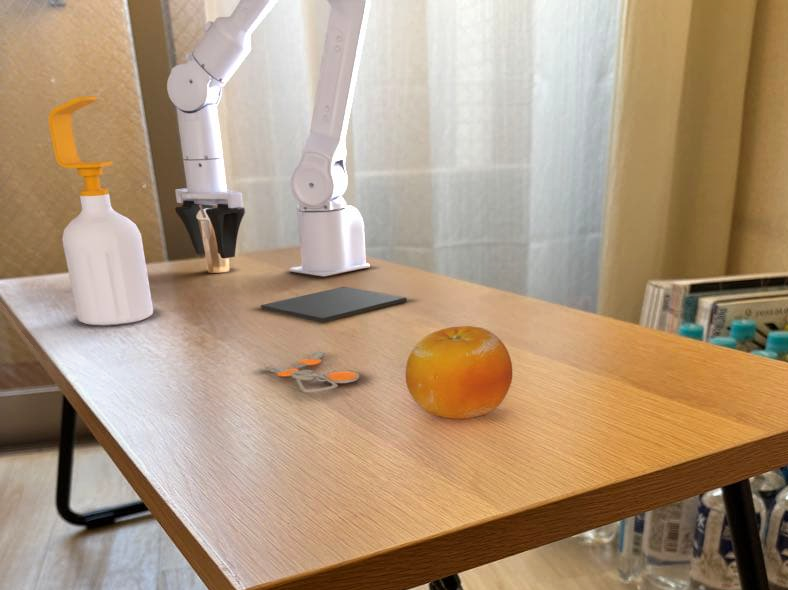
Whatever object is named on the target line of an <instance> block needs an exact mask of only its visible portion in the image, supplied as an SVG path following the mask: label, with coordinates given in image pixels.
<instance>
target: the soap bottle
mask: <svg viewBox="0 0 788 590" xmlns="http://www.w3.org/2000/svg"><path fill="white" fill-rule="evenodd" d="M97 101H98V98H97V96H96V95H95V96H94V95H91V96H79V97H76V98H74V99H72V100H70V101H68V102H67V101H66V102H65V103H63V104H61V105H59V106H57V107H54V108H53V109H52V110H51V111H50V112H49V115H48V126H49V130H50V136H51V141H52V146H53V153H54V156H55V160H56V162H57V164H58V165H59V166H60V167H62V168H64V169H76V170H77V175H78V176H79V177H83V180H84V186H85V189H79V190H78V193H79V199H80V204H81V212H80V213H79V214H78V215H77V216H75V217H74V218H73V219H72V220H70V222H69V223H68V224H67V225H66V226H65V228H63V232H62V246H63V251H64V256H65V261H66V266H67V271H68V276H69V282H70V287H71V291H72V292H71V293H72V297H73V302H74V307H75V311H76V316H77V320H78V322H81V323H83V324H85V325H88V326H95V327H96V326H99V327H100V326H102V327H103V326H104V327H106V326H108V327H109V326H119V325H126V324H133V323H136V322H141V321H143V320H146V319H148V318H149V317H151V316H152V315H153V314H154V307H153V300H152V295H151V288H150V282H149V275H148V270H147V264H146V263H147V262H146V257H145V251H144V245H143V239H142V238H143V237H142V234H141V232H140V230H139V228H138V226H137V224H136V223H135V222H133V221H132V220H131V219H129V218H128V217H127V216H124V215H123V214H120V213H119V212H117V211H116V210H115V209H113V207H112V203H111V198H110V193H109V188H102V187H101V183H100V177H99V176H102V175H104V172H103V168H104V167H109V166H114V161H112V160H104V161H103V160H100V161H84V160H82V159H80V157H79V155H78V152H77V147H76V142H75V138H74V137H75V135H74V131H73V125H72V117H73V114H74V113H75V112H76V111H79V110H80V109H83V108H85V107H87V106H89V105H92V104H94V103H96V102H97Z"/></svg>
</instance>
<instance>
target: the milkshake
mask: <svg viewBox="0 0 788 590" xmlns="http://www.w3.org/2000/svg"><path fill="white" fill-rule="evenodd" d="M199 207H200V211H199V212H198V213H197V215H196V218H197V222H198V226H199V231H200V235H201V239H202V244H203V249H204V254H203V255H204V258H205V263H206V268H207V272H208V273H209V274H210V273H211V274H221V273H222V274H223V273H227V272H230V258H225V259H223V258H221V256H220V253H219V249H218V245H217V239H216V235H215V232H214V228H213V226H212V223H211V221H210V219H209V217H208V215H207V213H206V209H208V208H206V209H203V207H202V205H199Z"/></svg>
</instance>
